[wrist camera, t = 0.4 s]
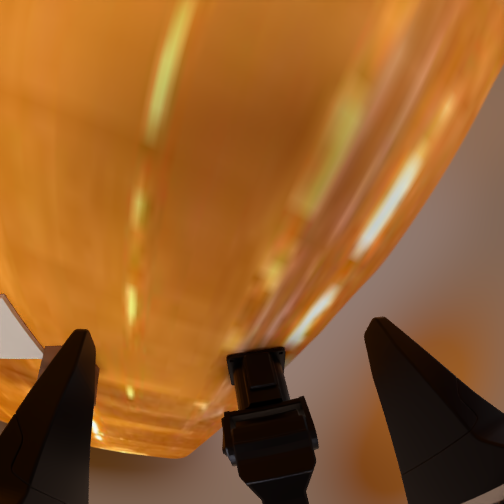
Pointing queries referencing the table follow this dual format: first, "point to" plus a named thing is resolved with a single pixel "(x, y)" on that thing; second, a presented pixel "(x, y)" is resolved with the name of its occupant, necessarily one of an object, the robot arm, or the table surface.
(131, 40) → the table surface
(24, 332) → the stone coaster
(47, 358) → the walnut cube
